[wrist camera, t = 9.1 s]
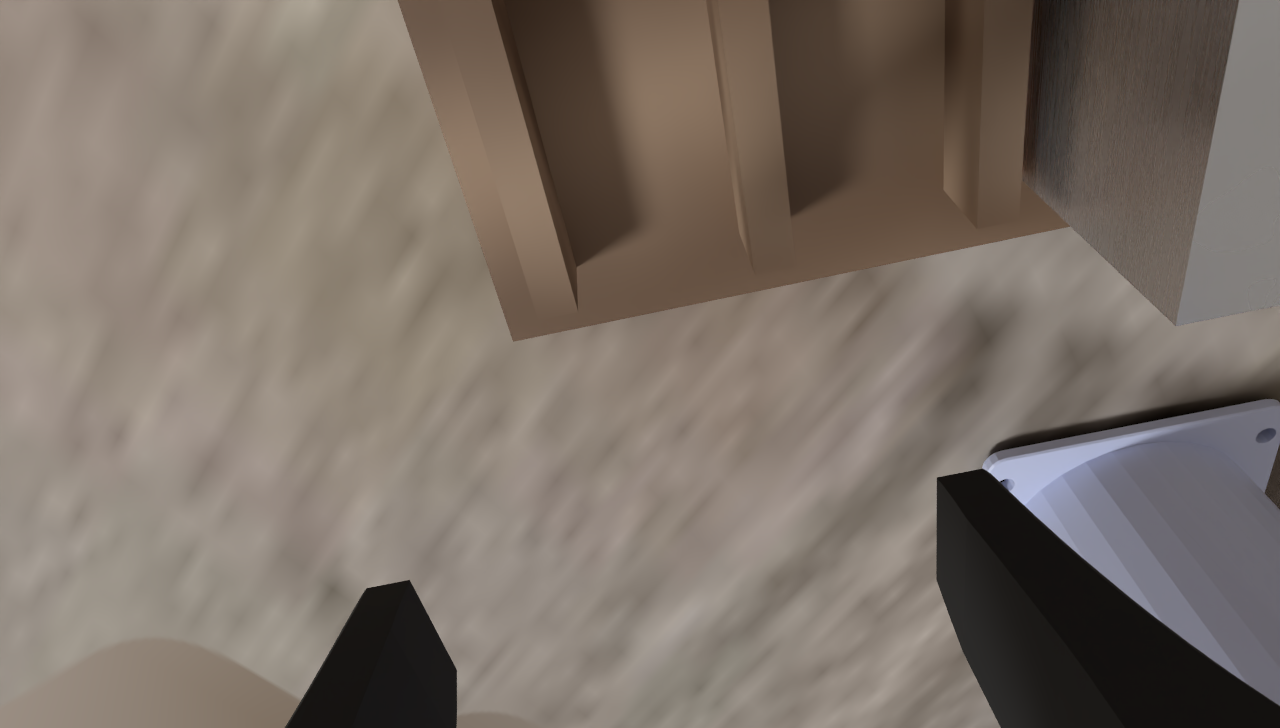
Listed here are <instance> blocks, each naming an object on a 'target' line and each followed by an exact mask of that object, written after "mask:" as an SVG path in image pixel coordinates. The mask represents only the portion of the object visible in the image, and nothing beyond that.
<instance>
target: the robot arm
mask: <svg viewBox="0 0 1280 728" xmlns="http://www.w3.org/2000/svg"><path fill="white" fill-rule="evenodd" d="M1279 444H1280V402H1279V401H1277V400H1274V399H1264V400H1259V401H1253V402H1248V403H1243V404H1238V405H1233V406H1228V407H1223V408H1218V409H1212V410H1207V411H1202V412H1197V413H1192V414H1187V415H1182V416H1177V417H1171V418H1166V419H1161V420H1156V421H1151V422H1146V423H1141V424H1135V425H1130V426H1125V427H1120V428H1115V429H1110V430H1105V431H1100V432H1094V433H1089V434H1084V435H1079V436H1074V437H1069V438H1064V439H1059V440H1053V441H1048V442H1043V443H1038V444H1033V445H1028V446H1023V447H1018V448H1012V449H1007V450H1002V451H999V452H996V453H993V454H992V455H990V456H989V457H988V458H987V459H986V461H985V462H984V464H983V467H982V469H979V470H974V471H969V472H963V473H958V474H953V475H948V476H943V477H938V478H937V582H938V585H939V588H940V591H941V593H942V596H943V599H944V602H945V604H946V607H947V610H948V613H949V616H950V618H951V621H952V624H953V626H954V629H955V632H956V634H957V637H958V640H959V642H960V645H961V648H962V650H963V652H964V654H965V656H966V658H967V661H968V663H969V665H970V667H971V669H972V671H973V673H974V675H975V677H976V679H977V681H978V683H979V685H980V687H981V689H982V691H983V693H984V695H985V697H986V699H987V701H988V703H989V705H990V707H991V709H992V711H993V713H994V715H995V717H996V719H997V721H998V723H999V725H1000V727H1001V728H1280V509H1279V508H1278V507H1277V506H1276V505H1275V504H1274V503H1273V502H1272V501H1271V500H1270V499H1269V498H1268V496H1267V495H1266V494H1265V490H1266V487H1267V483H1268V480H1269V477H1270V474H1271V470H1272V467H1273V464H1274V461H1275V457H1276V454H1277V451H1278V448H1279ZM1004 479H1006V480H1005V481H1003V482H1001V483H1000V481H1002V480H1004ZM456 720H457V670H456V668H455V666H454V664H453V662H452V660H451V658H450V656H449V654H448V652H447V651H446V649H445V647H444V645H443V643H442V641H441V639H440V637H439V635H438V633H437V631H436V630H435V628H434V626H433V624H432V622H431V620H430V618H429V616H428V614H427V612H426V610H425V608H424V607H423V605H422V603H421V601H420V599H419V597H418V595H417V593H416V591H415V589H414V587H413V586H412V584H411V582H410V580H408V581H402V582H397V583H392V584H387V585H382V586H377V587H371V588H367V589H366V590H365V592H364V593H363V594H362V596H361V598H360V599H359V601H358V603H357V605H356V606H355V608H354V610H353V612H352V613H351V615H350V617H349V619H348V620H347V622H346V624H345V626H344V627H343V629H342V631H341V633H340V635H339V636H338V638H337V640H336V642H335V643H334V645H333V647H332V649H331V650H330V652H329V654H328V656H327V658H326V659H325V661H324V663H323V664H322V666H321V668H320V670H319V671H318V673H317V675H316V677H315V678H314V680H313V682H312V684H311V685H310V687H309V689H308V690H307V692H306V694H305V695H304V697H303V699H302V700H301V702H300V704H299V705H298V707H297V709H296V710H295V712H294V714H293V715H292V717H291V719H290V720H289V722H288V723H287V725H286V727H285V728H456V724H457V723H456V722H457V721H456Z"/></svg>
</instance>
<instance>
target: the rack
mask: <svg viewBox="0 0 1280 728" xmlns="http://www.w3.org/2000/svg"><path fill="white" fill-rule="evenodd" d="M398 3H399V5H400V8H401V11H402V14H403V17H404V20H405V23H406V26H407V29H408V32H409V35H410V38H411V41H412V44H413V47H414V50H415V53H416V56H417V59H418V62H419V65H420V68H421V70H422V73H423V76H424V79H425V82H426V85H427V88H428V91H429V94H430V97H431V100H432V103H433V106H434V109H435V112H436V115H437V118H438V121H439V124H440V127H441V130H442V133H443V135H444V138H445V141H446V144H447V147H448V150H449V153H450V156H451V159H452V162H453V165H454V168H455V171H456V174H457V177H458V180H459V183H460V186H461V189H462V192H463V195H464V197H465V200H466V203H467V206H468V209H469V212H470V215H471V218H472V221H473V224H474V227H475V230H476V233H477V236H478V239H479V242H480V245H481V248H482V251H483V254H484V257H485V260H486V262H487V265H488V268H489V271H490V274H491V277H492V280H493V283H494V286H495V289H496V292H497V295H498V298H499V301H500V304H501V307H502V310H503V313H504V316H505V319H506V322H507V324H508V327H509V330H510V333H511V336H512V339H513V342H514V341H518V340H523V339H528V338H533V337H538V336H543V335H547V334H552V333H557V332H562V331H567V330H572V329H576V328H581V327H586V326H591V325H596V324H601V323H606V322H610V321H615V320H620V319H625V318H630V317H635V316H639V315H644V314H649V313H654V312H659V311H664V310H668V309H673V308H678V307H683V306H688V305H693V304H697V303H702V302H707V301H712V300H717V299H722V298H726V297H731V296H736V295H741V294H746V293H751V292H755V291H760V290H765V289H770V288H775V287H780V286H785V285H789V284H794V283H799V282H804V281H809V280H814V279H818V278H823V277H828V276H833V275H838V274H843V273H847V272H852V271H857V270H862V269H867V268H872V267H876V266H881V265H886V264H891V263H896V262H901V261H905V260H910V259H915V258H920V257H925V256H930V255H934V254H939V253H944V252H949V251H954V250H959V249H964V248H968V247H973V246H978V245H983V244H988V243H993V242H997V241H1002V240H1007V239H1012V238H1017V237H1022V236H1026V235H1031V234H1036V233H1041V232H1046V231H1051V230H1055V229H1060V228H1065V227H1070V225H1069V224H1068V223H1066V222H1065V221H1064V220H1063V219H1062V218H1061V217H1060V216H1059V215H1058V214H1057V213H1056V212H1055V211H1054V210H1053V209H1052V208H1051V207H1050V206H1049V205H1047V204H1046V203H1045V202H1044V201H1043V200H1042V199H1041V198H1040V197H1039V196H1038V195H1037V194H1036V193H1035V192H1034V191H1033V190H1032V189H1031V188H1030V187H1028V186H1027V185H1026V184H1025V183H1024V182H1023V181H1022V166H1023V150H1024V135H1025V119H1026V103H1027V88H1028V72H1029V57H1030V41H1031V25H1032V10H1033V0H398Z"/></svg>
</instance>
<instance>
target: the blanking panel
mask: <svg viewBox="0 0 1280 728" xmlns="http://www.w3.org/2000/svg"><path fill="white" fill-rule="evenodd" d="M1022 181H1023V182H1024V183H1025V184H1026V185H1027V186H1028V187H1030V188H1031V189H1032V190H1033V191H1034V192H1035V193H1036V194H1037V195H1038V196H1039V197H1040V198H1041V199H1042V200H1043V201H1044V202H1045V203H1046V204H1047V205H1049V206H1050V207H1051V208H1052V209H1053V210H1054V211H1055V212H1056V213H1057V214H1058V215H1059V216H1060V217H1061V218H1062V219H1063V220H1064V221H1065V222H1066V223H1068V224H1069V225H1070V226H1071V227H1072V228H1073V229H1074V230H1075V231H1076V232H1077V233H1078V234H1079V235H1080V236H1081V237H1082V238H1083V239H1084V240H1085V241H1086V242H1088V243H1089V244H1090V245H1091V246H1092V247H1093V248H1094V249H1095V250H1096V251H1097V252H1098V253H1099V254H1100V255H1101V256H1102V257H1103V258H1104V259H1105V260H1107V261H1108V262H1109V263H1110V264H1111V265H1112V266H1113V267H1114V268H1115V269H1116V270H1117V271H1118V272H1119V273H1120V274H1121V275H1122V276H1123V277H1124V278H1126V279H1127V280H1128V281H1129V282H1130V283H1131V284H1132V285H1133V286H1134V287H1135V288H1136V289H1137V290H1138V291H1139V292H1140V293H1141V294H1142V295H1143V296H1144V297H1146V298H1147V299H1148V300H1149V301H1150V302H1151V303H1152V304H1153V305H1154V306H1155V307H1156V308H1157V309H1158V310H1159V311H1160V312H1161V313H1162V314H1163V315H1165V316H1166V317H1167V318H1168V319H1169V320H1170V321H1171V322H1172V323H1173V324H1174V325H1175V326H1179V325H1184V324H1189V323H1194V322H1199V321H1204V320H1209V319H1214V318H1219V317H1224V316H1229V315H1234V314H1239V313H1244V312H1249V311H1254V310H1259V309H1264V308H1269V307H1274V306H1279V305H1280V0H1033V10H1032V25H1031V41H1030V57H1029V72H1028V88H1027V103H1026V119H1025V135H1024V150H1023V166H1022Z"/></svg>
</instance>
